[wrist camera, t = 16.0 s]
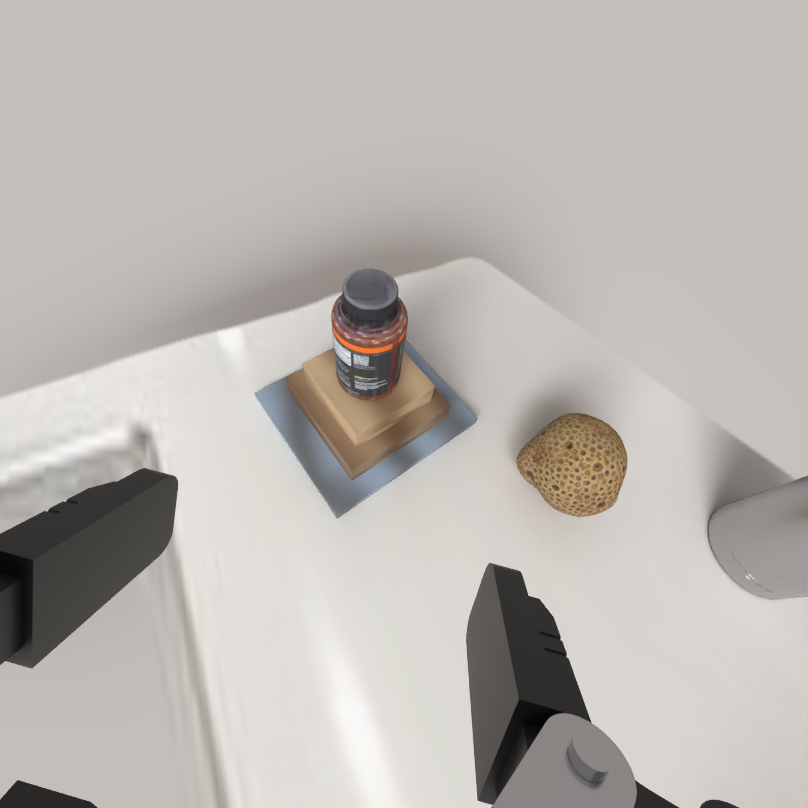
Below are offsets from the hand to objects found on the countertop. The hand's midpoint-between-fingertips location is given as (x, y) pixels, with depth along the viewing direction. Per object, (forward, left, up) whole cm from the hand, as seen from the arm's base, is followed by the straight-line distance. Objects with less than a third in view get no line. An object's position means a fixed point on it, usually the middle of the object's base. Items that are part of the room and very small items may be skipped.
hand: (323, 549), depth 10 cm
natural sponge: (-24, +3, -29) cm, 37 cm away
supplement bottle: (-13, -15, -22) cm, 29 cm away
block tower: (-13, -15, -28) cm, 35 cm away
